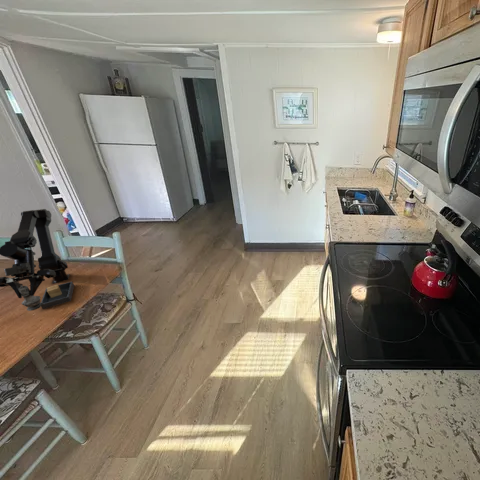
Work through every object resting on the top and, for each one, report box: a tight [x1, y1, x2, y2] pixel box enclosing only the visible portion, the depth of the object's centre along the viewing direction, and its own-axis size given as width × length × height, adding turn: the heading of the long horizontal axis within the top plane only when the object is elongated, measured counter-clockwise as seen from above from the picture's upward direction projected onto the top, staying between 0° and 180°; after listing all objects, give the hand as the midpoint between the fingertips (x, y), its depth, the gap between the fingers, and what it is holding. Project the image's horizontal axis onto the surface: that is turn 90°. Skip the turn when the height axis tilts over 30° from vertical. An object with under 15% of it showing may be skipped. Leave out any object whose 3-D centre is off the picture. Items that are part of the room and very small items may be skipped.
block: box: [46, 284, 62, 298], centre depth 131 cm, size 4×4×4 cm
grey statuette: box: [18, 285, 43, 312], centre depth 115 cm, size 6×6×12 cm
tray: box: [40, 281, 75, 310], centre depth 130 cm, size 15×10×3 cm, turn 35°
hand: (26, 296), depth 114 cm, fingers closed on grey statuette, 3 cm apart
